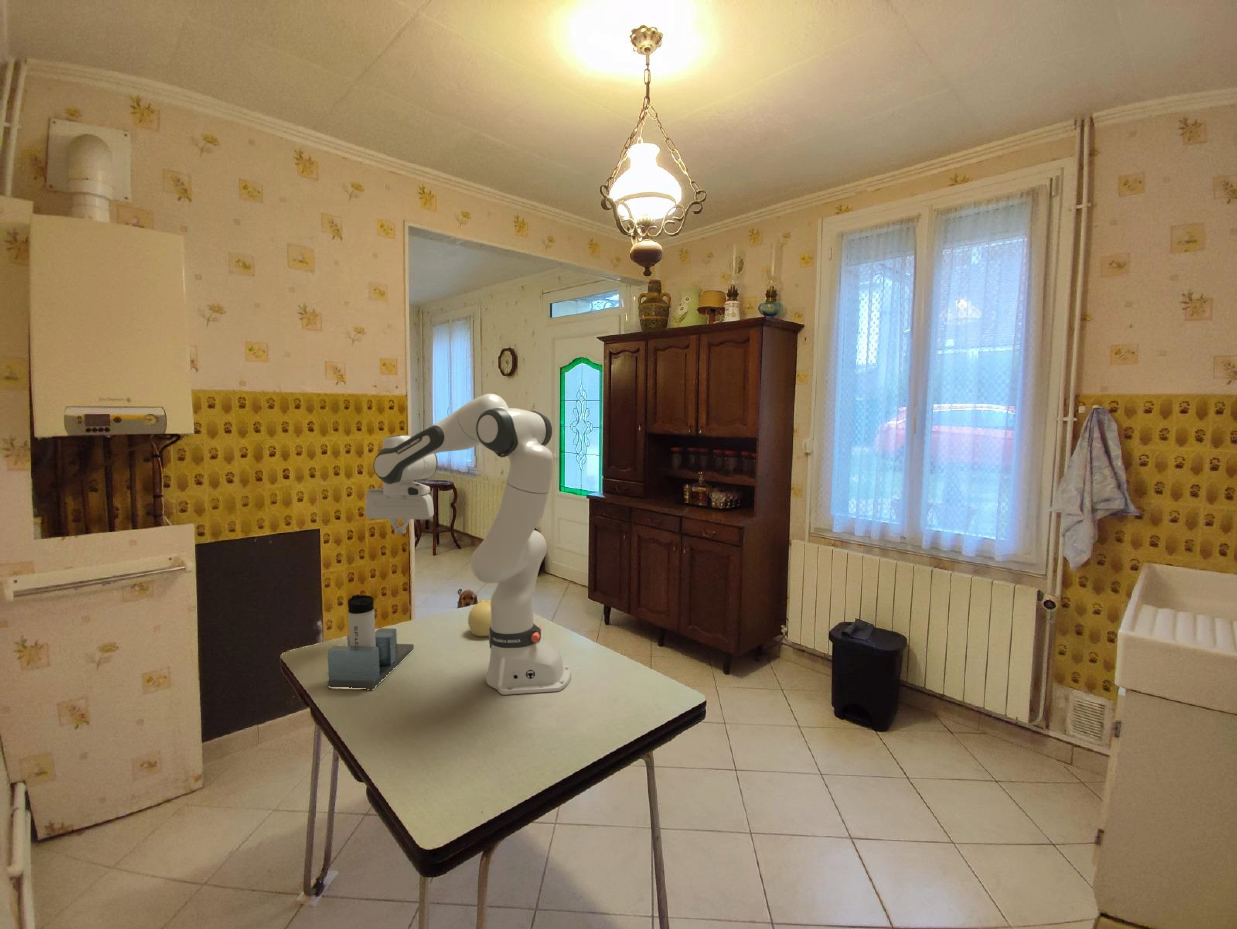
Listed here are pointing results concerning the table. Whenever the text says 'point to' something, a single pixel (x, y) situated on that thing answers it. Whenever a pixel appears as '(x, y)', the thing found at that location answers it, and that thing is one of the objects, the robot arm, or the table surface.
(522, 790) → the table surface
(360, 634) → the travel mug
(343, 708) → the table surface
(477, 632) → the sculpture
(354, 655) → the vise
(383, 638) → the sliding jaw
